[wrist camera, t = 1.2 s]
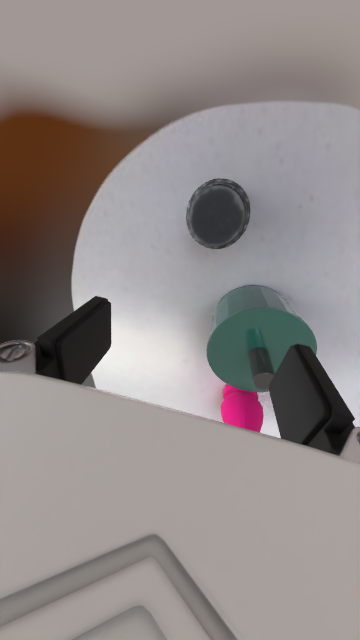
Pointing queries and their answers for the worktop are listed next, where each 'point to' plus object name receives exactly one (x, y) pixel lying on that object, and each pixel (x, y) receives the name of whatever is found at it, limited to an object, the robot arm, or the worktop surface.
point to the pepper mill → (242, 409)
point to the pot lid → (255, 345)
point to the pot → (248, 301)
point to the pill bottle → (218, 213)
